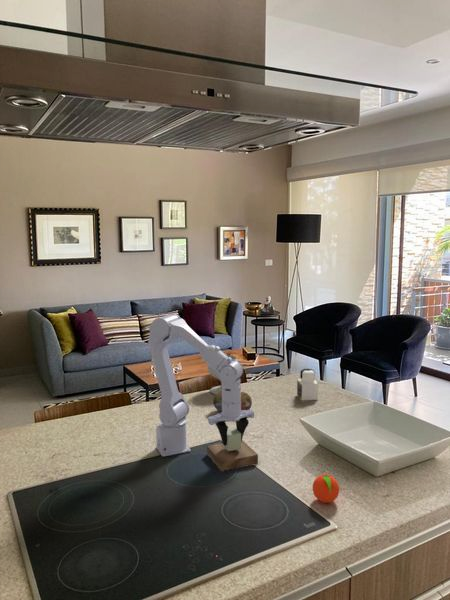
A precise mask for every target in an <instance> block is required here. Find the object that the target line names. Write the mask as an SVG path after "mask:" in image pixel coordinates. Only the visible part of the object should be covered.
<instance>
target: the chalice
mask: <svg viewBox="0 0 450 600" xmlns="http://www.w3.org/2000/svg"><path fill="white" fill-rule="evenodd" d="M226 355H227V356H228V357H231V358H232V360H238V358H237V357H236V356H235V355H232V354H226ZM206 369H207V373H208V374H209V375H210V376H212V377H213V378H215V379H218V380H219V381H220V383H221V384H220V385H217V386H212V387H211V388H210V389H209V393H210V394H213V395H216V394H217V393H219V392H220V391H222V381H221V380H220V378H219V375H218V373H217V372H216V371H215V370H214V369H213V368H212V367H210V366H209V365H208V364H207V363H206Z"/></svg>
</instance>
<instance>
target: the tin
mask: <svg viewBox="0 0 450 600" xmlns="http://www.w3.org/2000/svg"><path fill="white" fill-rule="evenodd" d="M212 402H213V407H214V408H215V410H217V412H219V413H222V391H220V392H219V393H217V394H214V397H213V401H212ZM252 405H253V401H252V398H251V396H250V395H249V394H248V393H247V392H245V391H241V410H251V407H252Z"/></svg>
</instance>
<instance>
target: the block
mask: <svg viewBox="0 0 450 600" xmlns="http://www.w3.org/2000/svg"><path fill="white" fill-rule="evenodd" d="M223 447H224V448H225V449H226V450H227V451H232V450H238V449H241V433H240V432H239V431H238V430H237V428H236V427H234V428H228V430H227V445H224V444H223Z"/></svg>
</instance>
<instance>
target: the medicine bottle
mask: <svg viewBox="0 0 450 600" xmlns="http://www.w3.org/2000/svg"><path fill="white" fill-rule="evenodd" d="M296 382H297V383H296V396H298V398H299V400H300V401H302V402H303V401H305V402H306V401H318V399H319V383H318V382H317V381H316V371H315V370H314V369H313V368H303V369H301V370H300V375H299V378H298V379H296Z"/></svg>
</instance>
